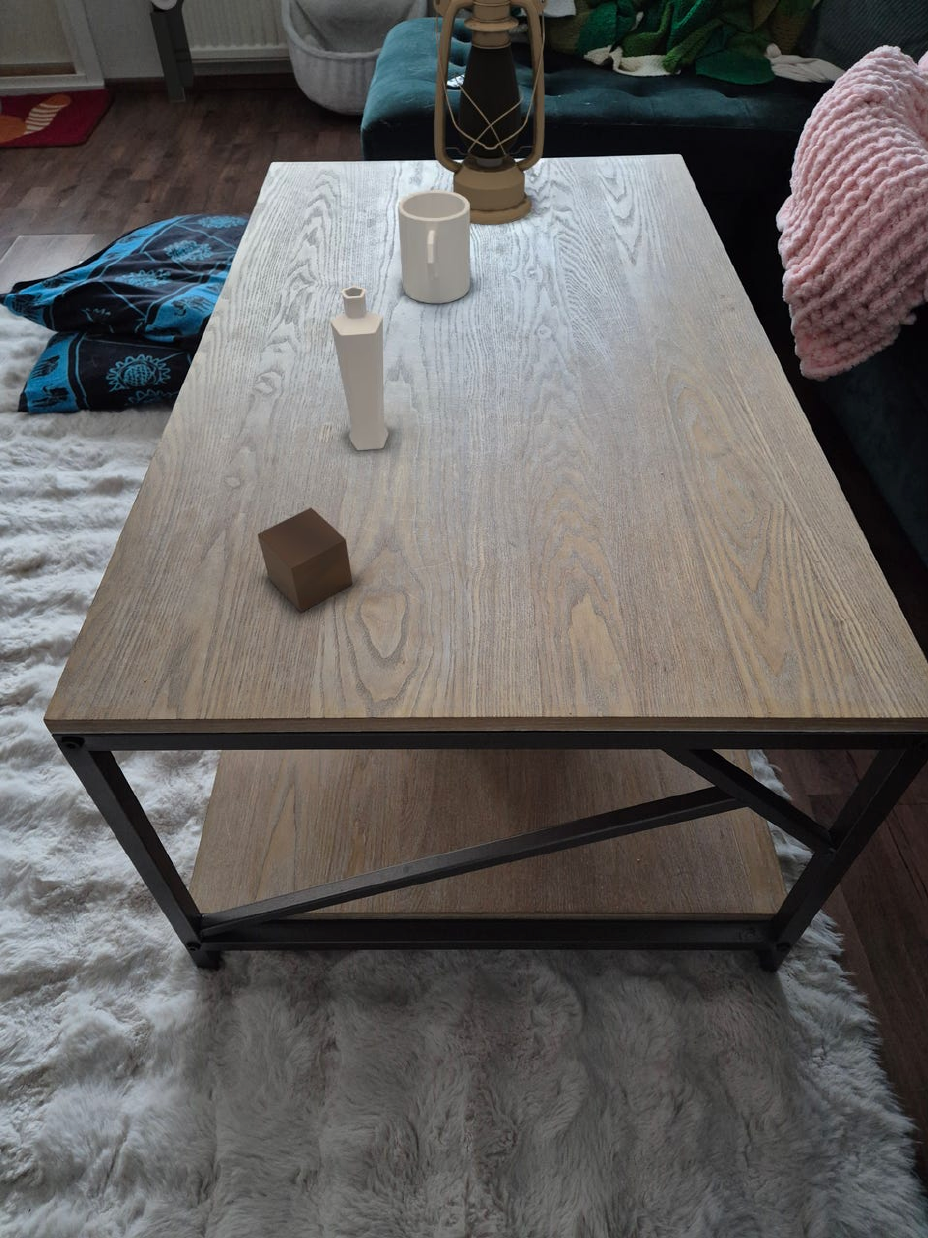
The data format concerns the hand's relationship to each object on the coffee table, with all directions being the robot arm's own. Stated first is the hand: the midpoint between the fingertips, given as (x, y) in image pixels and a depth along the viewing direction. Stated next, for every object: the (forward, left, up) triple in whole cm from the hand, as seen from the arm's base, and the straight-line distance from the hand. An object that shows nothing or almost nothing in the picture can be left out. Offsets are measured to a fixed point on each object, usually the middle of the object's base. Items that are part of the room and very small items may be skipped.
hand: (86, 105), depth 41 cm
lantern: (+40, +69, -36) cm, 88 cm away
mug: (+27, +46, -36) cm, 65 cm away
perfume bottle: (+14, +20, -36) cm, 44 cm away
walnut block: (+6, +2, -36) cm, 37 cm away
